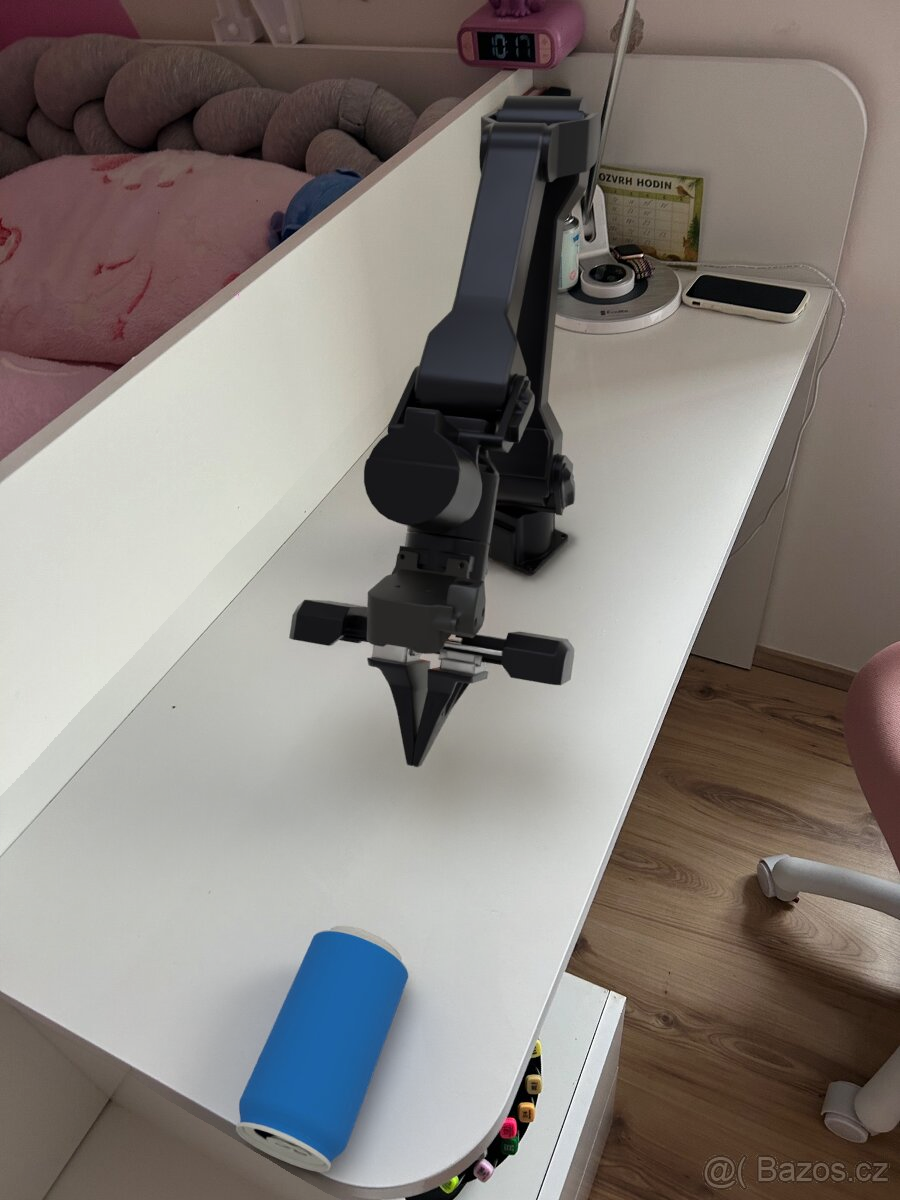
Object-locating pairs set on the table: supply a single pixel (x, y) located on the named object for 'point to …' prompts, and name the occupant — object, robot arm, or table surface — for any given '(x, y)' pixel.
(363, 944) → the beverage can
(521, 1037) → the table surface
